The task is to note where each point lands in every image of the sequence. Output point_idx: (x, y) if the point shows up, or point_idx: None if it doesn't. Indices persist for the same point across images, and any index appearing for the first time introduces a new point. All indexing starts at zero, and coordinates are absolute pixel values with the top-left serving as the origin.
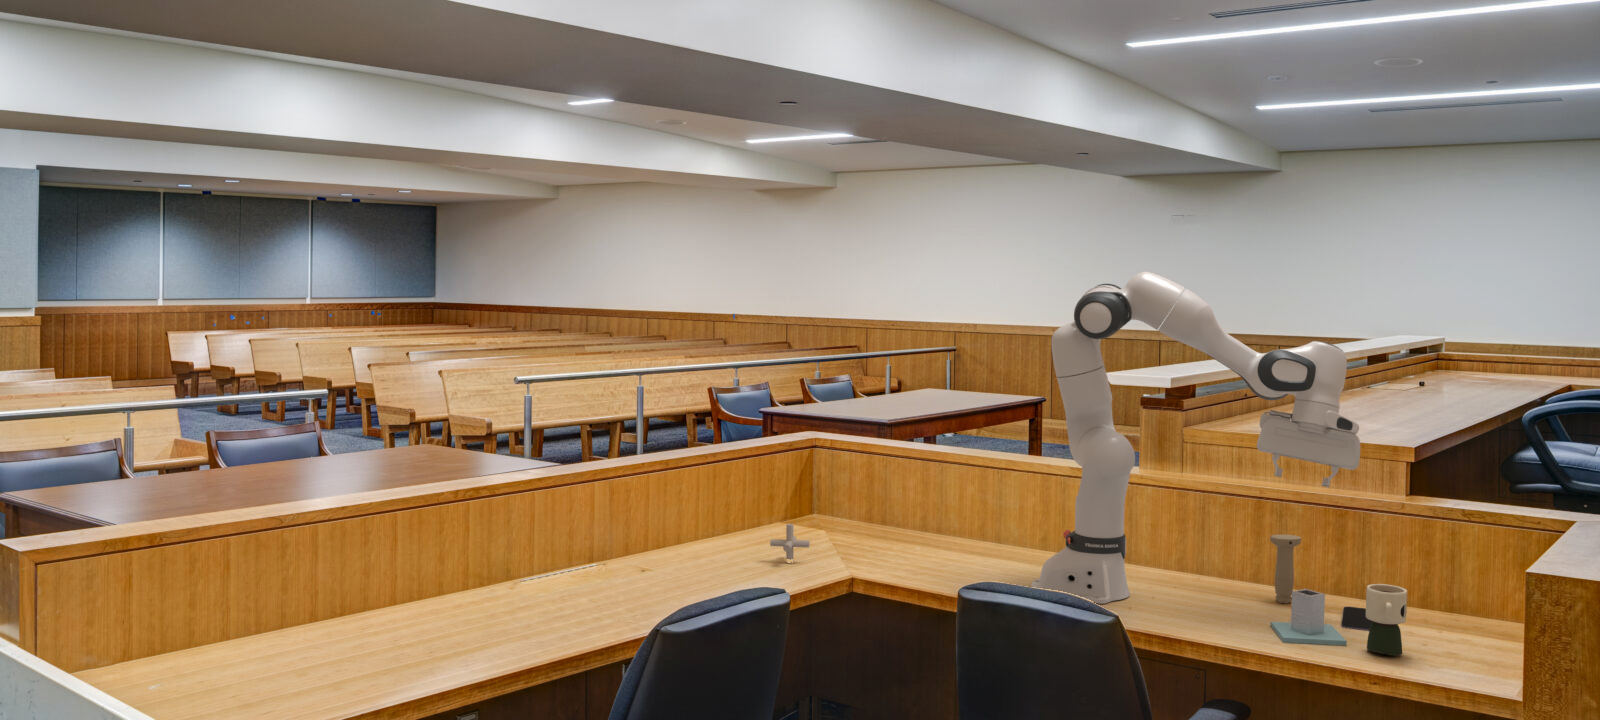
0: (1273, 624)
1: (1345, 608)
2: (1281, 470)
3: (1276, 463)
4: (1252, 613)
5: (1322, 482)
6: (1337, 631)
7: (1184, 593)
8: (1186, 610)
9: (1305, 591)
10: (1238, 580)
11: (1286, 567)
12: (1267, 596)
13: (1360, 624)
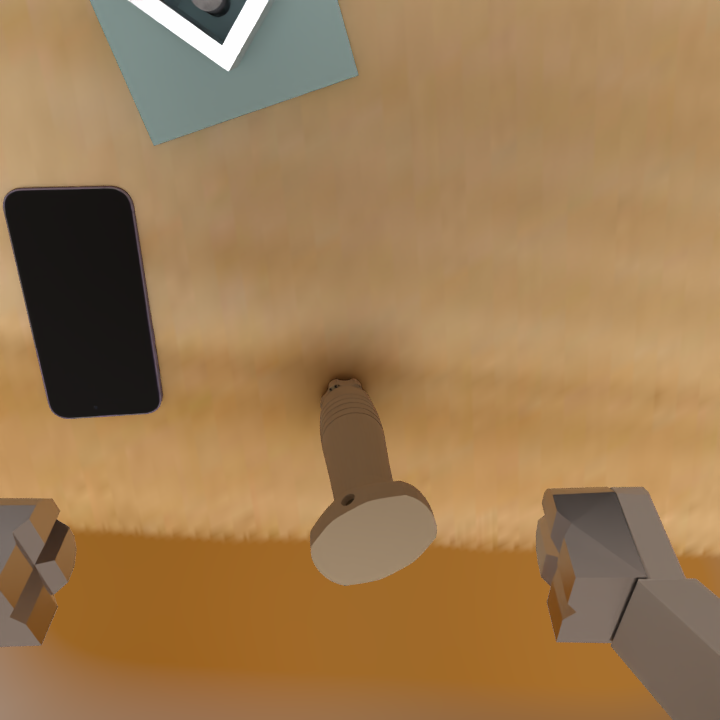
0: (345, 33)
1: (153, 390)
2: (584, 554)
3: (716, 632)
4: (425, 215)
5: (28, 517)
6: (114, 54)
7: (632, 342)
8: (637, 140)
9: (225, 41)
10: (479, 544)
11: (349, 440)
12: (393, 431)
13: (73, 238)
